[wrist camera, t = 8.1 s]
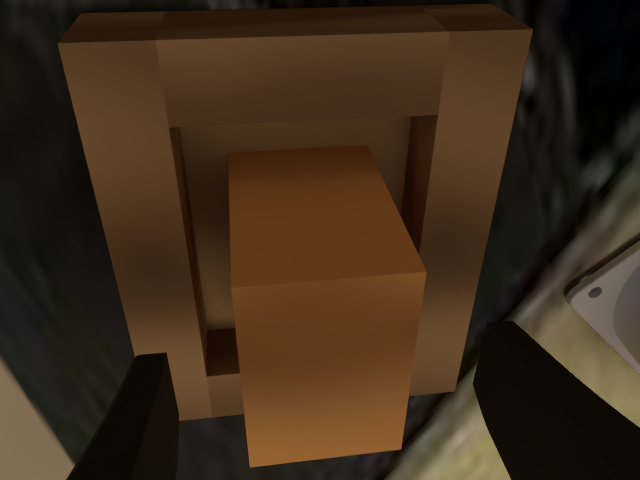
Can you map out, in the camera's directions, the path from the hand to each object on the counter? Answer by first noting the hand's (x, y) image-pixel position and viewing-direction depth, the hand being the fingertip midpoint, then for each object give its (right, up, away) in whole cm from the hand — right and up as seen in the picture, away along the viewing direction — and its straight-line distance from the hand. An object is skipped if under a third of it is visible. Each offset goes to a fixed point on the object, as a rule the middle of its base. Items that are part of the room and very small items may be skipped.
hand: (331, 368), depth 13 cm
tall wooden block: (-1, +3, +5) cm, 6 cm away
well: (-1, +4, +5) cm, 7 cm away
